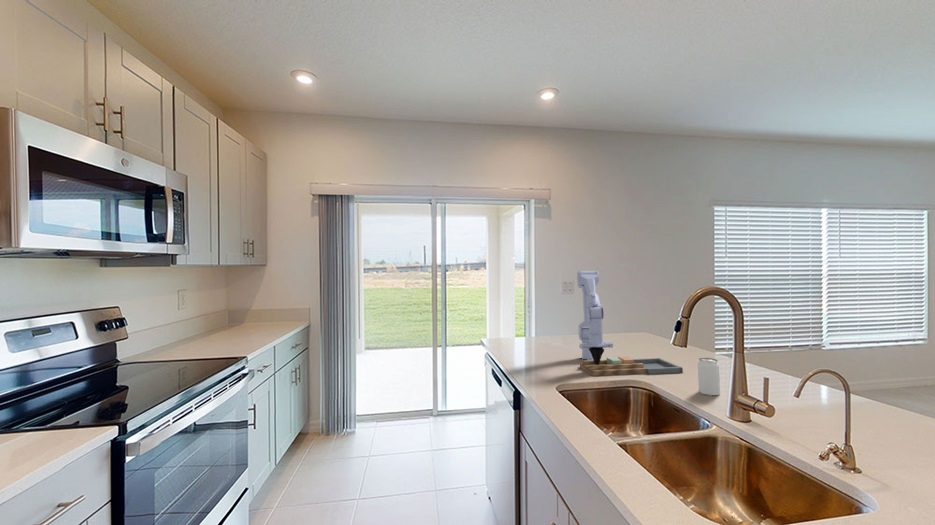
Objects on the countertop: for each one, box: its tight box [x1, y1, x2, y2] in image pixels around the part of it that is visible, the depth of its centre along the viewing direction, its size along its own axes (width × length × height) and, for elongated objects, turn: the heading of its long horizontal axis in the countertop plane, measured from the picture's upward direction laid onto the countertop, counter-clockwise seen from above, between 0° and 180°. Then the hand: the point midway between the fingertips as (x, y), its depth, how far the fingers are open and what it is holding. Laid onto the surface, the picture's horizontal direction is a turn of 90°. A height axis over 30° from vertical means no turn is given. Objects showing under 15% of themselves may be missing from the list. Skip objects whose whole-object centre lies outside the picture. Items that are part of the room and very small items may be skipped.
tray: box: [633, 357, 684, 375], centre depth 163 cm, size 15×16×2 cm
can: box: [697, 357, 721, 396], centre depth 131 cm, size 6×6×12 cm
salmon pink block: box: [617, 356, 634, 364], centre depth 162 cm, size 4×6×3 cm, turn 4°
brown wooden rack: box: [579, 358, 648, 377], centre depth 162 cm, size 24×14×4 cm, turn 94°
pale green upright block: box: [606, 356, 622, 365], centre depth 162 cm, size 4×6×3 cm, turn 4°
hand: (596, 364), depth 161 cm, fingers closed
